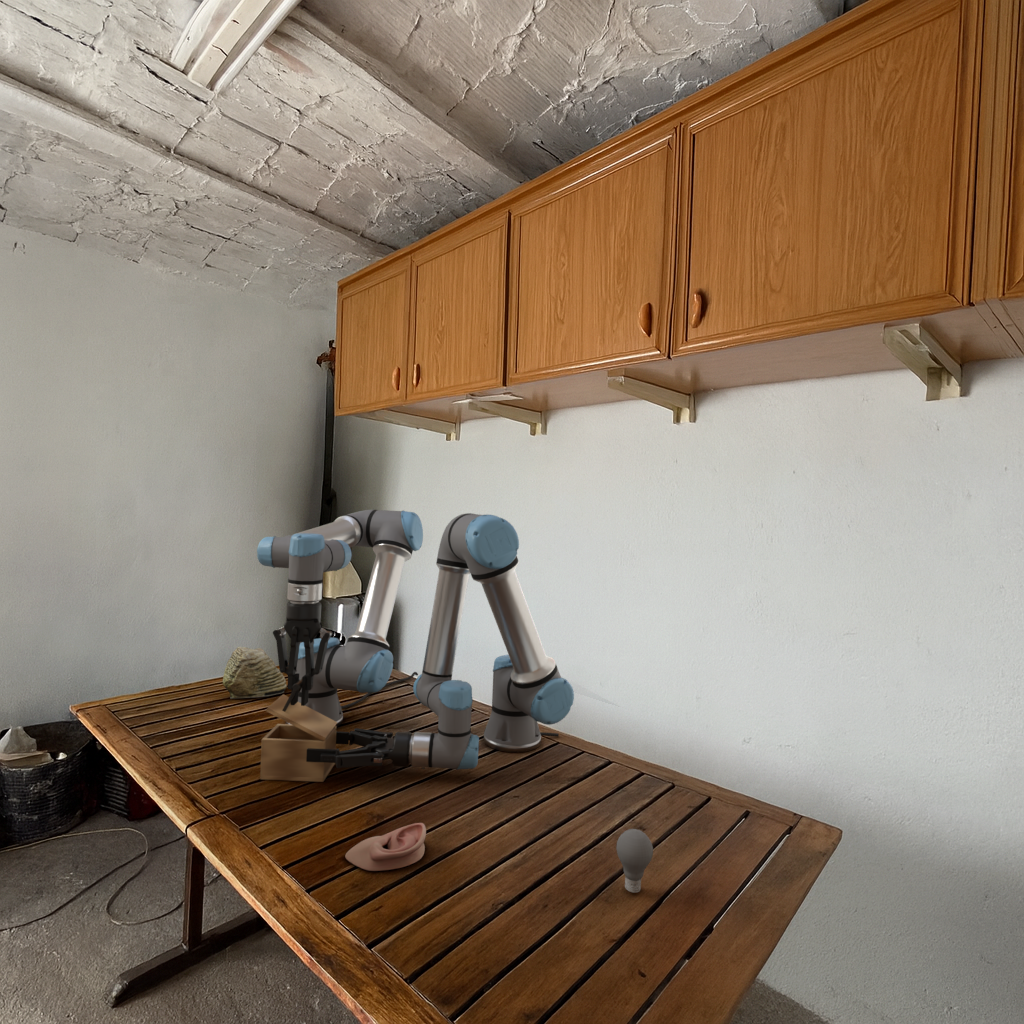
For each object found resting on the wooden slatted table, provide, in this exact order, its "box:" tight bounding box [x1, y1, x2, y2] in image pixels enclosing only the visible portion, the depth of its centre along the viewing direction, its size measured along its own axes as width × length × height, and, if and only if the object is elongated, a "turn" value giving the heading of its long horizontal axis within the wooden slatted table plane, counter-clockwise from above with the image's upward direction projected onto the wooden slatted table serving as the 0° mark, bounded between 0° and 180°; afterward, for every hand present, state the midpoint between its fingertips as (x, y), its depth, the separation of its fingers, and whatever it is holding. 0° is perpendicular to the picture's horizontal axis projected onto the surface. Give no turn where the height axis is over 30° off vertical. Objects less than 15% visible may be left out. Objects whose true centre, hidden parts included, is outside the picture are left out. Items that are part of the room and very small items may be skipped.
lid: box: [265, 678, 337, 741], centre depth 145 cm, size 14×10×8 cm
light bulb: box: [615, 828, 654, 894], centre depth 106 cm, size 6×6×10 cm
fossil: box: [222, 646, 288, 699], centre depth 198 cm, size 9×18×15 cm, turn 132°
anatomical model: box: [344, 822, 427, 872], centre depth 113 cm, size 13×4×12 cm
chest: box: [259, 723, 338, 783], centre depth 145 cm, size 14×10×9 cm
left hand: (299, 703), depth 145 cm, fingers closed on lid, 2 cm apart
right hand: (314, 745), depth 145 cm, fingers closed on chest, 10 cm apart
